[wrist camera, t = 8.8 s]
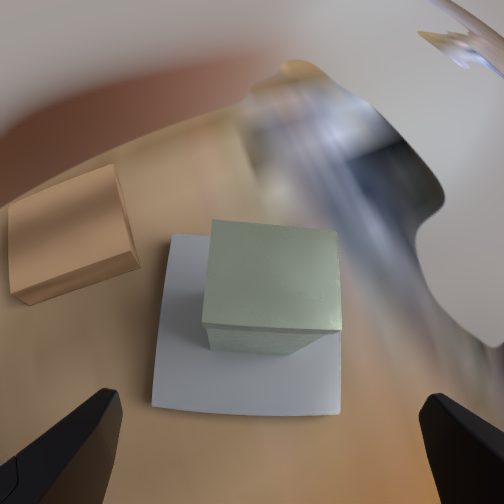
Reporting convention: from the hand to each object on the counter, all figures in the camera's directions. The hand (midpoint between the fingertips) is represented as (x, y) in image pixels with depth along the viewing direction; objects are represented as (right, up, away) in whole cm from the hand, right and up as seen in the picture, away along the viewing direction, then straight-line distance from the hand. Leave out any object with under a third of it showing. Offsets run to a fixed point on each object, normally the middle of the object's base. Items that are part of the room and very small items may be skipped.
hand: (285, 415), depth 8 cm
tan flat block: (-15, +5, +15) cm, 22 cm away
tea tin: (-1, 0, +13) cm, 13 cm away
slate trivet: (-1, -1, +14) cm, 14 cm away
